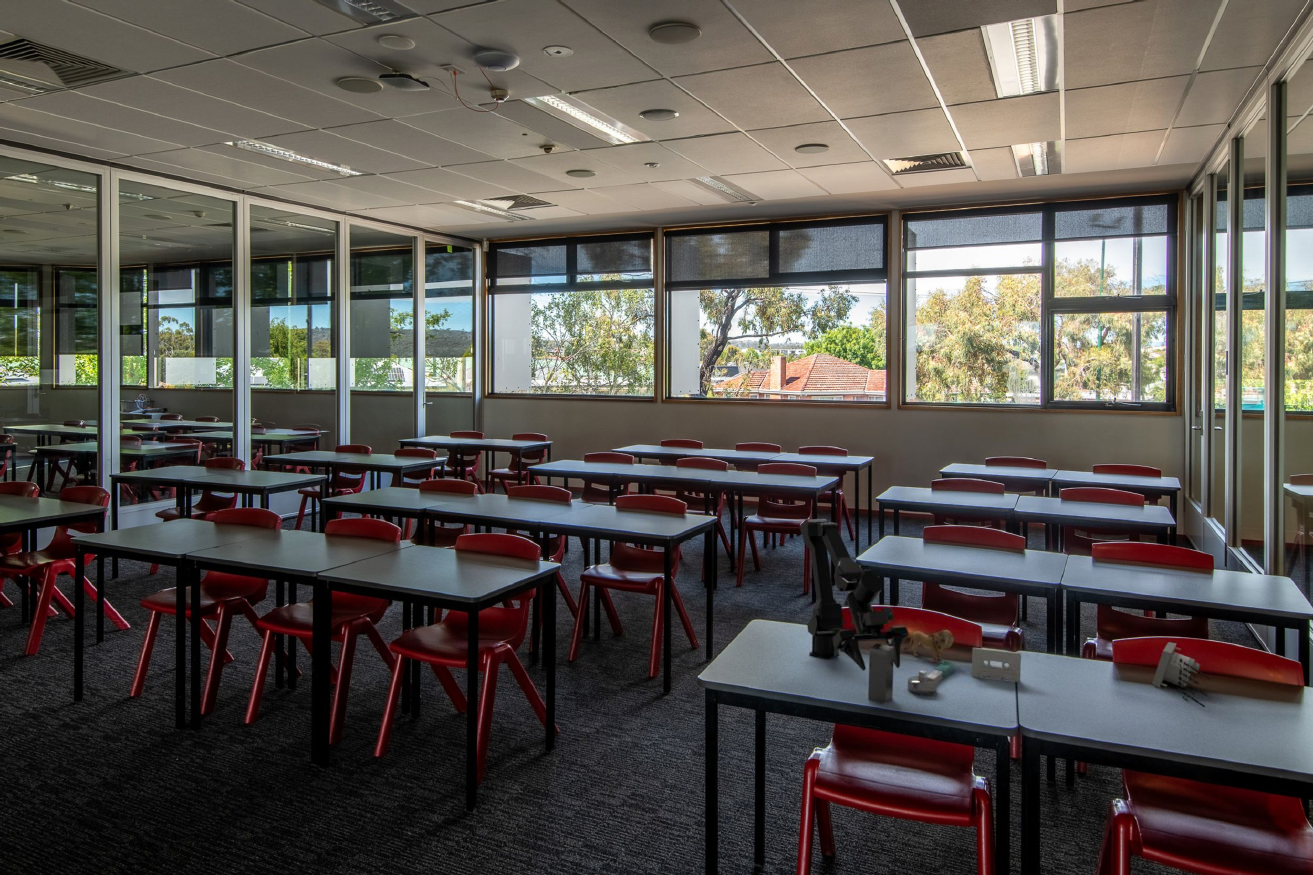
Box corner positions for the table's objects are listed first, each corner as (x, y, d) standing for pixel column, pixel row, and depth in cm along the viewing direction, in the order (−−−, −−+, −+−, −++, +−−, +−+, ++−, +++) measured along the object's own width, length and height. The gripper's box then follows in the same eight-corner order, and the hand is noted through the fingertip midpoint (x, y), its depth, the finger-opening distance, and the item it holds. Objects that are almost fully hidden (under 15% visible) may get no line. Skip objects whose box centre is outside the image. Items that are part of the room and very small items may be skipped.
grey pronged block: (1136, 675, 223) (1138, 639, 223) (1180, 677, 223) (1182, 641, 222) (1194, 715, 197) (1196, 674, 196) (1244, 717, 196) (1246, 676, 195)
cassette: (1019, 680, 219) (1021, 652, 218) (1020, 683, 217) (1021, 654, 217) (971, 674, 223) (972, 646, 223) (971, 677, 221) (972, 648, 221)
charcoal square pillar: (868, 699, 205) (869, 647, 204) (875, 693, 209) (877, 643, 208) (885, 703, 202) (886, 651, 201) (892, 698, 206) (893, 646, 205)
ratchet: (903, 691, 211) (903, 672, 210) (936, 666, 229) (937, 648, 229) (930, 698, 206) (931, 678, 206) (962, 671, 225) (963, 653, 225)
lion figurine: (955, 661, 234) (957, 629, 233) (947, 665, 230) (948, 634, 229) (907, 649, 244) (908, 619, 243) (898, 653, 240) (899, 622, 239)
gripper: (838, 598, 207) (857, 655, 197) (906, 594, 211) (928, 650, 201) (824, 620, 215) (842, 676, 205) (890, 616, 219) (911, 671, 209)
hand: (881, 668), depth 205 cm, fingers open, 9 cm apart
